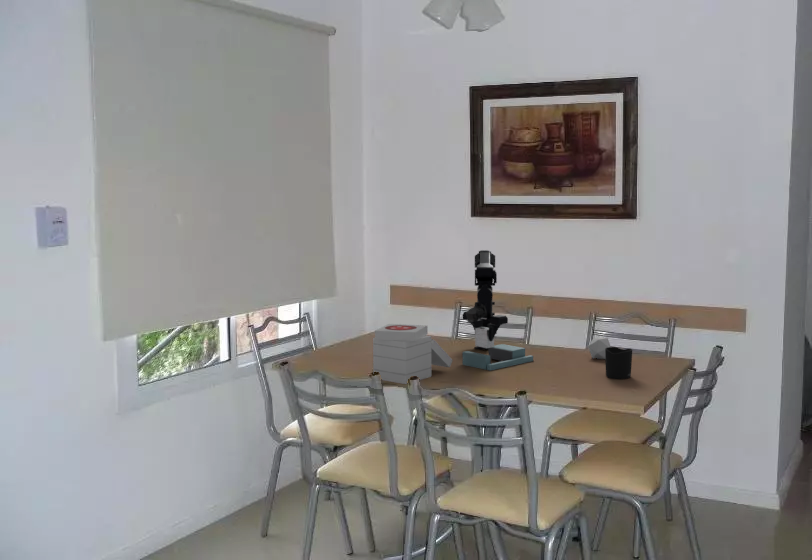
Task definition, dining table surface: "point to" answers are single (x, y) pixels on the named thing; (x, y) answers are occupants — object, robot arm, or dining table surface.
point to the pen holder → (618, 363)
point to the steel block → (483, 338)
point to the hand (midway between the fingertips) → (484, 340)
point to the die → (598, 347)
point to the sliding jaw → (506, 352)
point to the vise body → (485, 361)
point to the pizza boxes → (406, 353)
